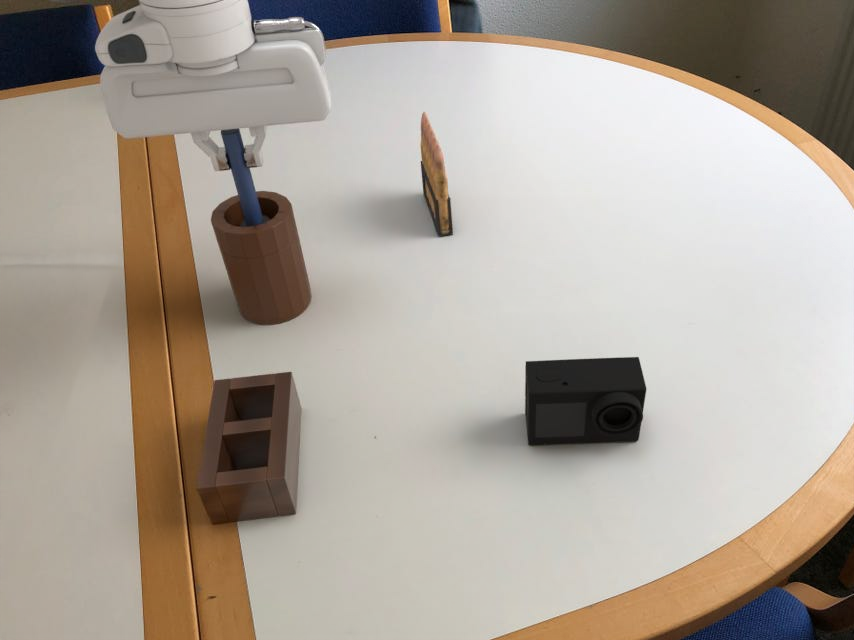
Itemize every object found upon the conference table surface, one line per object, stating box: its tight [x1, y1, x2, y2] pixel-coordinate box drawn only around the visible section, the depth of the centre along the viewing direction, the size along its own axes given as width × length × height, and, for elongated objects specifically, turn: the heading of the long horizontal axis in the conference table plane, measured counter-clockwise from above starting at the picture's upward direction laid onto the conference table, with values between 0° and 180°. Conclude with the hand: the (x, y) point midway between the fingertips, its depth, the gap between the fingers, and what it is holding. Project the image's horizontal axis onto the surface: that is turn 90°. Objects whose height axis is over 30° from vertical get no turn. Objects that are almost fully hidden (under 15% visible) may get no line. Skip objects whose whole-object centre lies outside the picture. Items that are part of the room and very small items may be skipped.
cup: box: [210, 190, 312, 326], centre depth 87 cm, size 8×8×12 cm
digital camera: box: [524, 356, 647, 446], centre depth 72 cm, size 10×5×7 cm, turn 91°
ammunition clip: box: [420, 111, 454, 238], centre depth 99 cm, size 11×2×12 cm, turn 13°
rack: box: [195, 371, 302, 525], centre depth 72 cm, size 7×13×5 cm, turn 7°
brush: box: [220, 128, 270, 227], centre depth 82 cm, size 3×3×16 cm
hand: (239, 166), depth 79 cm, fingers closed on brush, 2 cm apart
